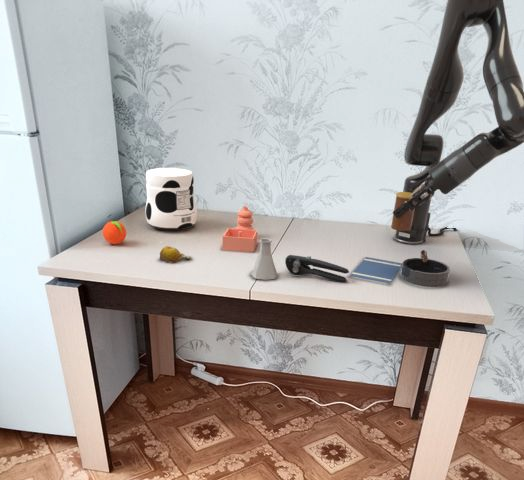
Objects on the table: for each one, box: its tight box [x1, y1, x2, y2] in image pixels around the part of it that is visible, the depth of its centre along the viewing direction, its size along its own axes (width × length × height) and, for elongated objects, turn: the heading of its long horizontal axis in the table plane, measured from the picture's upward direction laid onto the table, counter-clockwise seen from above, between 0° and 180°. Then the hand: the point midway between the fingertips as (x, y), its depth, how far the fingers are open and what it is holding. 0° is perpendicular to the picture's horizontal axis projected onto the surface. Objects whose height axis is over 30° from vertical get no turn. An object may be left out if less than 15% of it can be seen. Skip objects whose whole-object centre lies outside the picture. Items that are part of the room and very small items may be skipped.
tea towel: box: [349, 256, 403, 285], centre depth 143 cm, size 18×11×1 cm, turn 155°
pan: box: [400, 257, 451, 288], centre depth 138 cm, size 12×12×4 cm
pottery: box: [222, 205, 258, 253], centre depth 159 cm, size 18×10×10 cm, turn 173°
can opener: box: [285, 254, 350, 283], centre depth 136 cm, size 18×7×6 cm, turn 69°
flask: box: [250, 237, 278, 281], centre depth 134 cm, size 7×7×10 cm
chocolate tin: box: [390, 191, 415, 231], centre depth 133 cm, size 5×5×9 cm
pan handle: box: [420, 249, 429, 265], centre depth 146 cm, size 10×2×2 cm, turn 166°
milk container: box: [144, 167, 198, 231], centre depth 169 cm, size 17×17×18 cm
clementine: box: [102, 220, 127, 245], centre depth 153 cm, size 8×7×7 cm
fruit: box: [159, 245, 191, 263], centre depth 144 cm, size 8×8×4 cm
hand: (396, 212), depth 134 cm, fingers closed on chocolate tin, 5 cm apart
